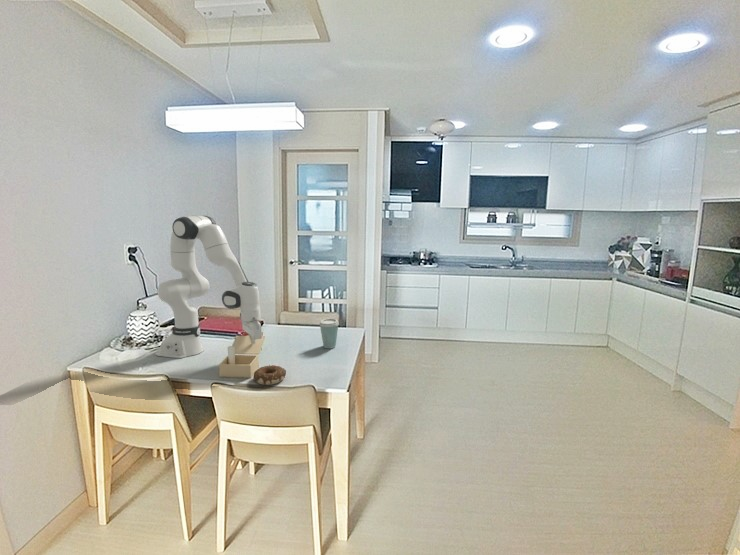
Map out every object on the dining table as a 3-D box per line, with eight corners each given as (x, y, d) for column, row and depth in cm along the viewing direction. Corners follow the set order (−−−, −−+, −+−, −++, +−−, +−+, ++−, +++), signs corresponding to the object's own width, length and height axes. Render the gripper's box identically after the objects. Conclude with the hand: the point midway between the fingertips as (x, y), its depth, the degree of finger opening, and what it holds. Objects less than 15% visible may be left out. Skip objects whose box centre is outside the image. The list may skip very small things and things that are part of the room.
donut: (273, 389, 164) (273, 378, 163) (247, 383, 169) (246, 372, 168) (292, 376, 177) (292, 365, 176) (267, 371, 182) (267, 360, 181)
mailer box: (219, 377, 174) (218, 353, 172) (229, 366, 186) (228, 344, 184) (250, 378, 174) (250, 354, 172) (258, 367, 186) (258, 345, 184)
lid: (236, 335, 195) (236, 336, 195) (228, 353, 185) (229, 353, 185) (265, 336, 195) (265, 336, 195) (259, 353, 185) (259, 354, 185)
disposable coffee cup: (329, 351, 208) (329, 324, 205) (315, 346, 214) (315, 320, 211) (342, 346, 216) (342, 320, 213) (328, 341, 222) (328, 316, 220)
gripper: (264, 319, 181) (266, 347, 183) (251, 310, 198) (253, 336, 200) (250, 321, 177) (252, 350, 180) (238, 312, 194) (240, 339, 197)
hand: (252, 343), depth 190 cm, fingers closed, pressing on lid
